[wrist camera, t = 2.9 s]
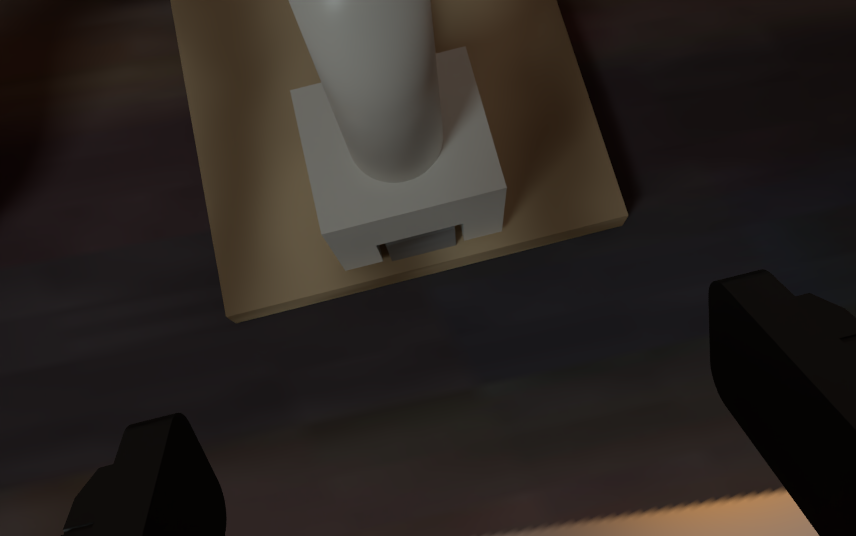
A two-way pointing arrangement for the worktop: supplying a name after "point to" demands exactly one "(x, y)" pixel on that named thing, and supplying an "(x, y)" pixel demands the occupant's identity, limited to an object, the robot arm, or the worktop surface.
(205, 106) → the track
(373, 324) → the worktop surface
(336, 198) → the white handled block
